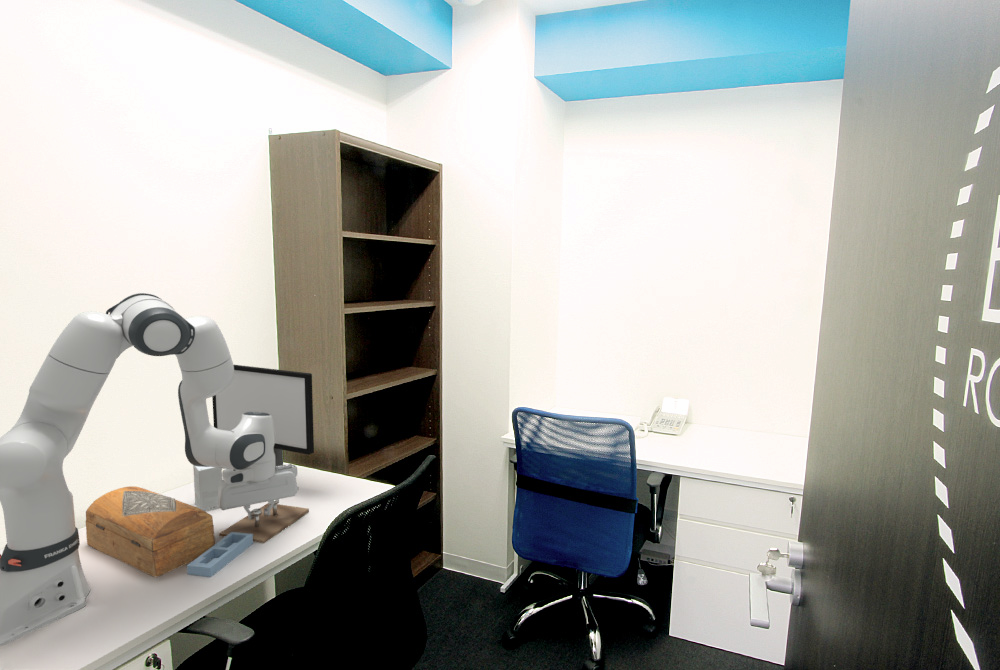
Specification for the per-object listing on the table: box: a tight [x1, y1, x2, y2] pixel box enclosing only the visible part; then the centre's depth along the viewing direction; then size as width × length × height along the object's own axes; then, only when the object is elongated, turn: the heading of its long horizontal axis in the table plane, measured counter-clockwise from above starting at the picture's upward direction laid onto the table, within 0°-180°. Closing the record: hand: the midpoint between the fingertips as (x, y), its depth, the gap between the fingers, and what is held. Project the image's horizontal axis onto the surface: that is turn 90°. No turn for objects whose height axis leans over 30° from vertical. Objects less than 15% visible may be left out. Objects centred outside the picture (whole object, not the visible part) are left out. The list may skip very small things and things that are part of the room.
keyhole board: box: [218, 502, 310, 544], centre depth 155 cm, size 20×14×1 cm
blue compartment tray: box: [186, 532, 254, 578], centre depth 135 cm, size 6×16×3 cm, turn 171°
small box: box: [192, 465, 223, 512], centre depth 165 cm, size 8×6×13 cm
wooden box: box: [85, 485, 216, 578], centre depth 139 cm, size 30×16×14 cm, turn 61°
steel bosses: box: [250, 499, 280, 527], centre depth 154 cm, size 10×3×5 cm, turn 165°
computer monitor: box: [211, 364, 315, 490], centre depth 178 cm, size 41×8×40 cm, turn 67°
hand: (259, 517), depth 152 cm, fingers open, 3 cm apart
